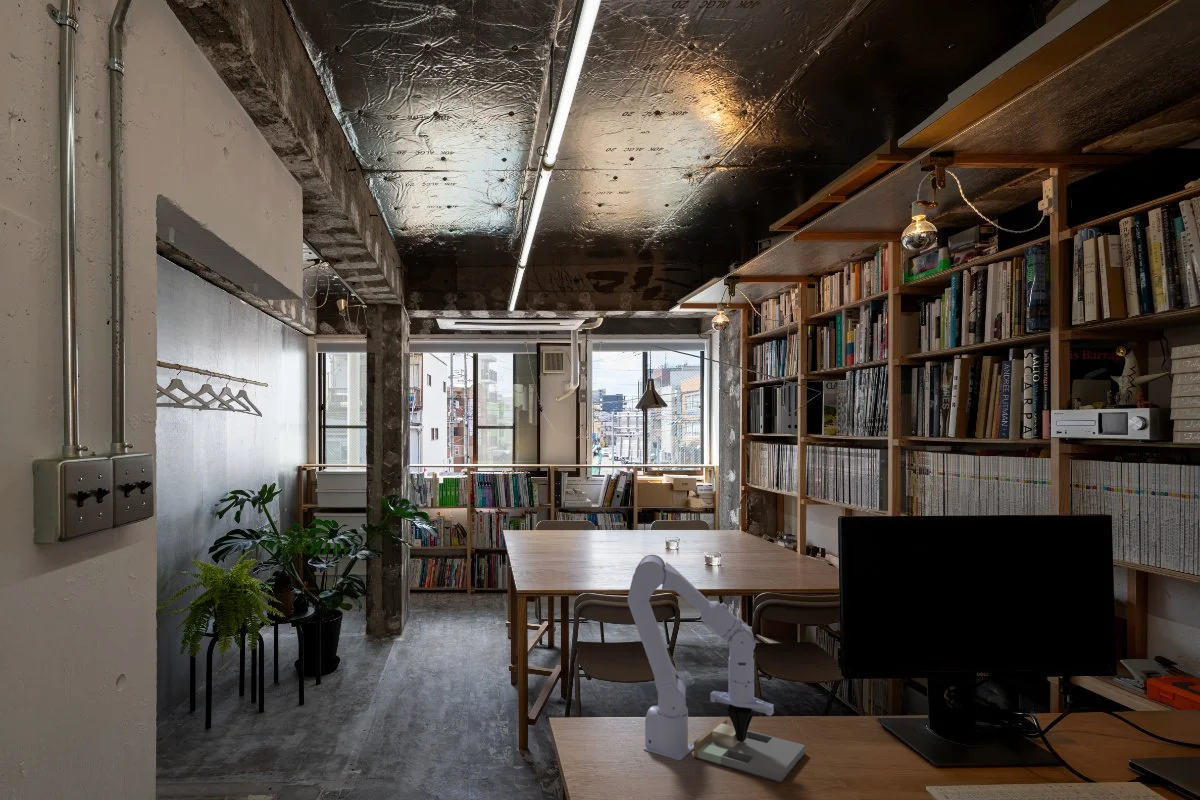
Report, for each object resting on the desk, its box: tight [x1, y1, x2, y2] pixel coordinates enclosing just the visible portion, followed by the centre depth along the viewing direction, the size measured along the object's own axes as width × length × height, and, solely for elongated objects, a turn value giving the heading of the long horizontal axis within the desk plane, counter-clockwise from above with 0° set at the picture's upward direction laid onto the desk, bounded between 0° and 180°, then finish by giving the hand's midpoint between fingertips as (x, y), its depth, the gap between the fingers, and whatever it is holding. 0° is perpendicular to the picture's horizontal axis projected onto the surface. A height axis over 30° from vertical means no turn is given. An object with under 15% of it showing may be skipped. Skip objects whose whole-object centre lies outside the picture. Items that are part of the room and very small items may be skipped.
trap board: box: [693, 717, 806, 784], centre depth 158 cm, size 20×16×4 cm
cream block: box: [712, 723, 739, 747], centre depth 161 cm, size 5×5×2 cm
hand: (741, 739), depth 159 cm, fingers closed
